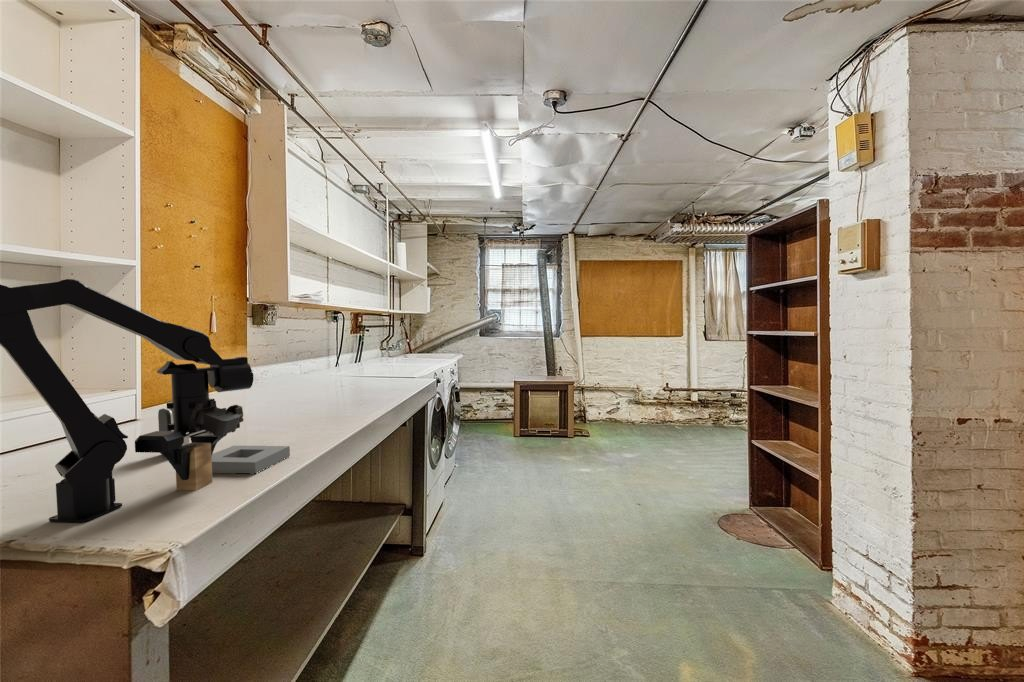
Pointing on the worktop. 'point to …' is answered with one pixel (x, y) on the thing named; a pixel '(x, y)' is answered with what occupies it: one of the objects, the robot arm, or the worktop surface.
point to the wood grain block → (197, 468)
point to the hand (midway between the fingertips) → (194, 475)
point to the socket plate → (247, 458)
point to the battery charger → (165, 419)
